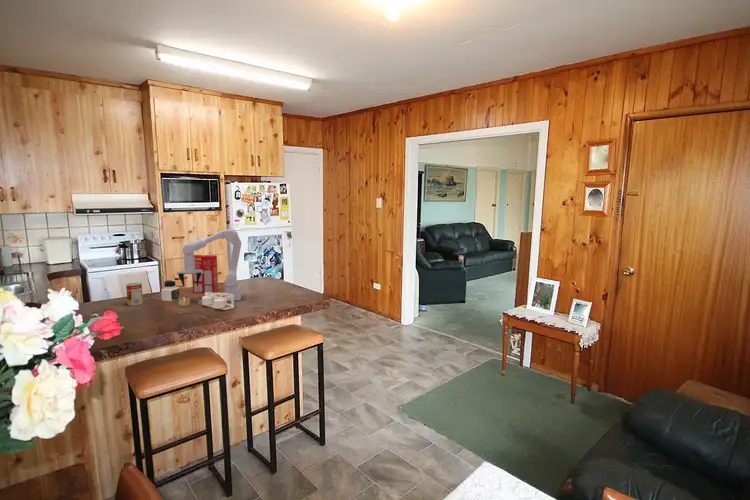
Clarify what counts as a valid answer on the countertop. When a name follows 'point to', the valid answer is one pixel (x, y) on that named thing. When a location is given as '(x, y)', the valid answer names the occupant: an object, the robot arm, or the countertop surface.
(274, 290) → the countertop surface
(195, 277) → the food packaging
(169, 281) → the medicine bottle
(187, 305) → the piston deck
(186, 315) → the countertop surface
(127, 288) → the canned food
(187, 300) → the wooden ring
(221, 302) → the car outline toy
